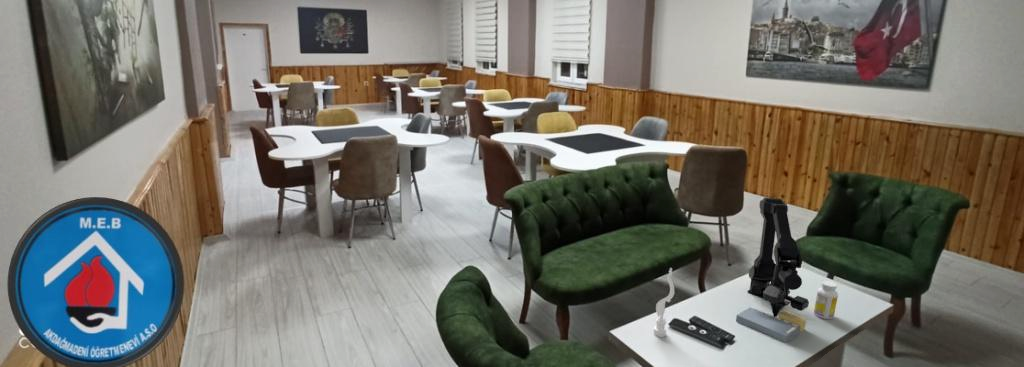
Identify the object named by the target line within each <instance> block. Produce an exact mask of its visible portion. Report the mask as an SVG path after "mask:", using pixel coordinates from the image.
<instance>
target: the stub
mask: <svg viewBox="0 0 1024 367" xmlns="http://www.w3.org/2000/svg"><path fill="white" fill-rule="evenodd" d="M777 317H778V318H780V319H781V320H785V321H788V322H789V323H791V324H795V325H798V326H799V327H800V328H799V333H798V334H800V333H802V331H804V330H805V328H806V323H807V318H805V317H802V316H800V315H797V314H795V313H793V312H792V313H791V312H789V311H787V310H785V309H784V310H783V309H782V310H781V312H780V313H779V314H778V316H777Z"/></svg>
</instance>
